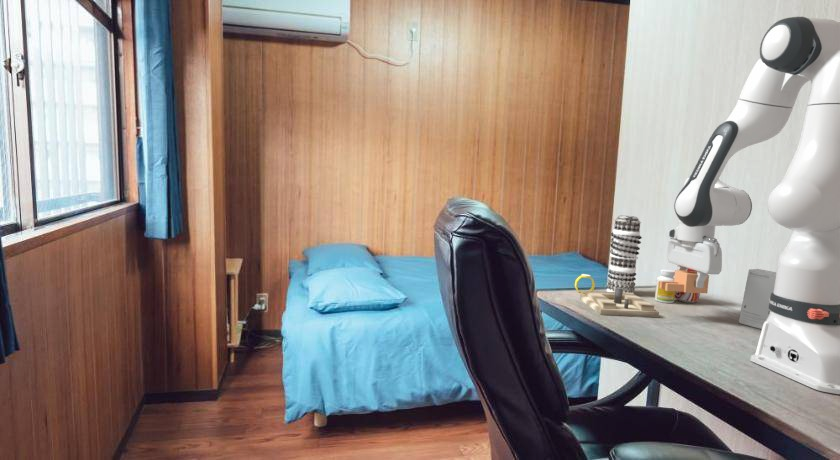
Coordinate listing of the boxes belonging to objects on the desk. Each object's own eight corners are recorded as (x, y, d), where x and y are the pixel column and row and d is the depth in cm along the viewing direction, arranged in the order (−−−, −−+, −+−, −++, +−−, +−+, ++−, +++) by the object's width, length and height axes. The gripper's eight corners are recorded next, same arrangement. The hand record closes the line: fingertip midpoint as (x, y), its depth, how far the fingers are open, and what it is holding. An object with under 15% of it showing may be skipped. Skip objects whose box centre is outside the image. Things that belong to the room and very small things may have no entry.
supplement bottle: (677, 304, 152) (681, 272, 151) (659, 303, 152) (663, 271, 151) (668, 299, 157) (672, 269, 156) (651, 298, 157) (655, 268, 156)
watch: (591, 293, 161) (594, 275, 160) (594, 295, 158) (597, 277, 158) (572, 290, 161) (575, 272, 160) (575, 292, 158) (578, 274, 158)
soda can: (668, 297, 160) (673, 260, 158) (689, 298, 161) (693, 261, 159) (682, 303, 153) (687, 265, 152) (703, 304, 154) (708, 265, 152)
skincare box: (738, 323, 134) (745, 269, 132) (748, 320, 137) (756, 267, 136) (773, 333, 127) (782, 275, 125) (783, 330, 130) (792, 274, 129)
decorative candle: (620, 296, 157) (629, 217, 154) (598, 289, 165) (606, 214, 162) (641, 295, 161) (650, 218, 158) (619, 288, 169) (627, 215, 166)
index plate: (658, 317, 135) (660, 297, 135) (600, 314, 135) (602, 294, 134) (632, 301, 151) (634, 284, 151) (579, 299, 151) (581, 281, 150)
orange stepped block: (694, 288, 140) (696, 271, 140) (707, 293, 134) (709, 275, 134) (657, 287, 140) (659, 269, 139) (668, 291, 134) (670, 273, 133)
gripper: (731, 239, 125) (726, 293, 127) (686, 231, 146) (681, 278, 147) (707, 238, 125) (701, 292, 127) (664, 230, 146) (660, 277, 147)
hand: (690, 284), depth 137 cm, fingers closed on orange stepped block, 6 cm apart
